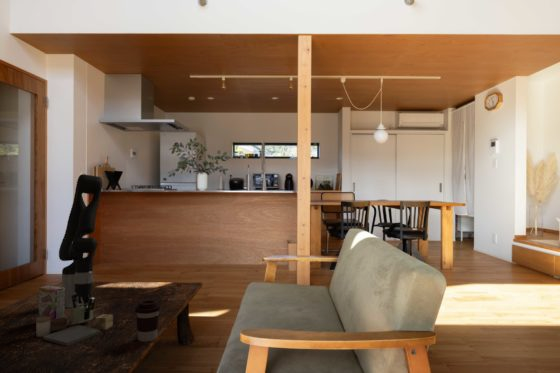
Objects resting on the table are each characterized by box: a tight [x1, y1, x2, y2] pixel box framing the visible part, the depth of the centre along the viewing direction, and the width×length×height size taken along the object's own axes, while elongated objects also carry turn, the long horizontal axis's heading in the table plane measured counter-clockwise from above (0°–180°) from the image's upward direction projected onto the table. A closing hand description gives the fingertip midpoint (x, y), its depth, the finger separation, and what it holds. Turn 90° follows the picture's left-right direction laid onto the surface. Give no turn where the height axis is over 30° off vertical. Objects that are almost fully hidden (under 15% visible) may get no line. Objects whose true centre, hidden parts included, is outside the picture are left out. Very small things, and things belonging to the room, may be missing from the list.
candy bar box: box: [38, 285, 66, 320], centre depth 169 cm, size 11×5×16 cm, turn 71°
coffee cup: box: [134, 299, 162, 343], centre depth 152 cm, size 10×10×15 cm
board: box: [42, 324, 102, 347], centre depth 154 cm, size 15×15×1 cm
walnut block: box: [50, 316, 68, 333], centre depth 162 cm, size 4×6×4 cm, turn 135°
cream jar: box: [35, 316, 51, 338], centre depth 156 cm, size 5×5×7 cm
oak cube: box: [94, 313, 114, 331], centre depth 164 cm, size 5×5×5 cm
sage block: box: [72, 306, 94, 325], centre depth 169 cm, size 4×7×6 cm, turn 155°
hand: (83, 318), depth 168 cm, fingers closed on sage block, 4 cm apart
